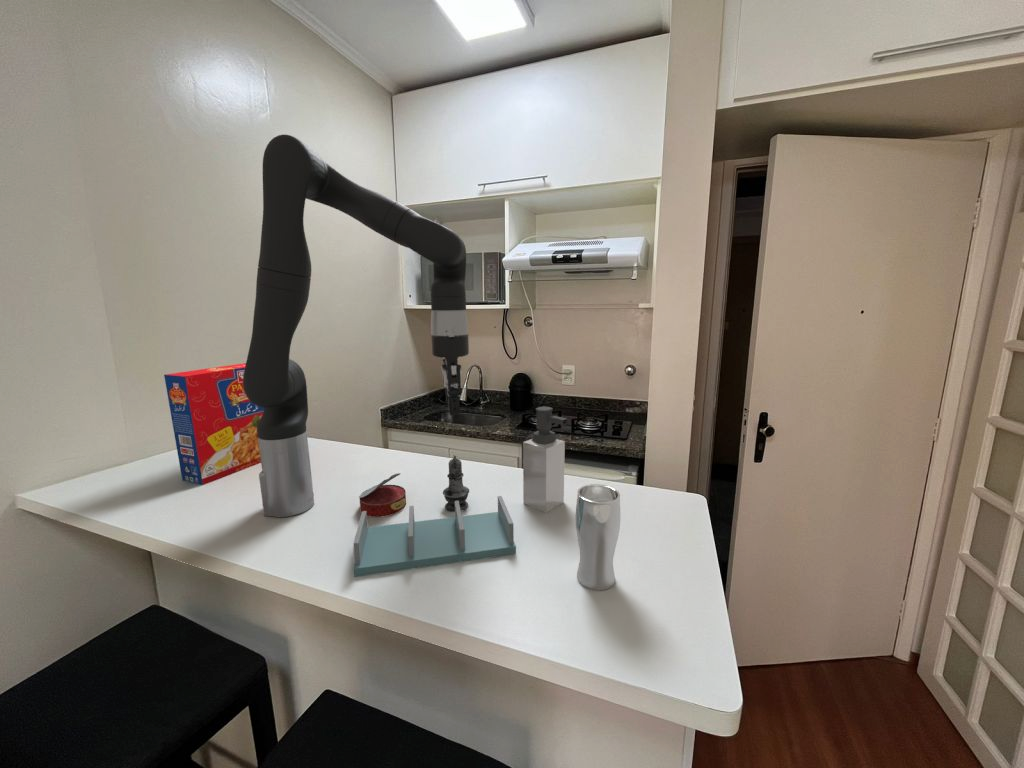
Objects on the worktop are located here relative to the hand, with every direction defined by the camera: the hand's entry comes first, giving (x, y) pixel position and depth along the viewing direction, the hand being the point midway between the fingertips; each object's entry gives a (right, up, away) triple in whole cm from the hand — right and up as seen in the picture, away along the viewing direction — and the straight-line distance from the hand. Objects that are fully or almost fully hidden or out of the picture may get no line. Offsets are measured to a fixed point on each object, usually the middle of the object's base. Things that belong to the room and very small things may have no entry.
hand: (452, 409), depth 87 cm
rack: (-2, -25, -10) cm, 27 cm away
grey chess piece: (0, -22, +4) cm, 23 cm away
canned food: (-16, -22, +5) cm, 28 cm away
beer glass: (+26, -27, -20) cm, 43 cm away
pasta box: (-64, -18, +30) cm, 73 cm away
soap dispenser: (+21, -22, +5) cm, 30 cm away
